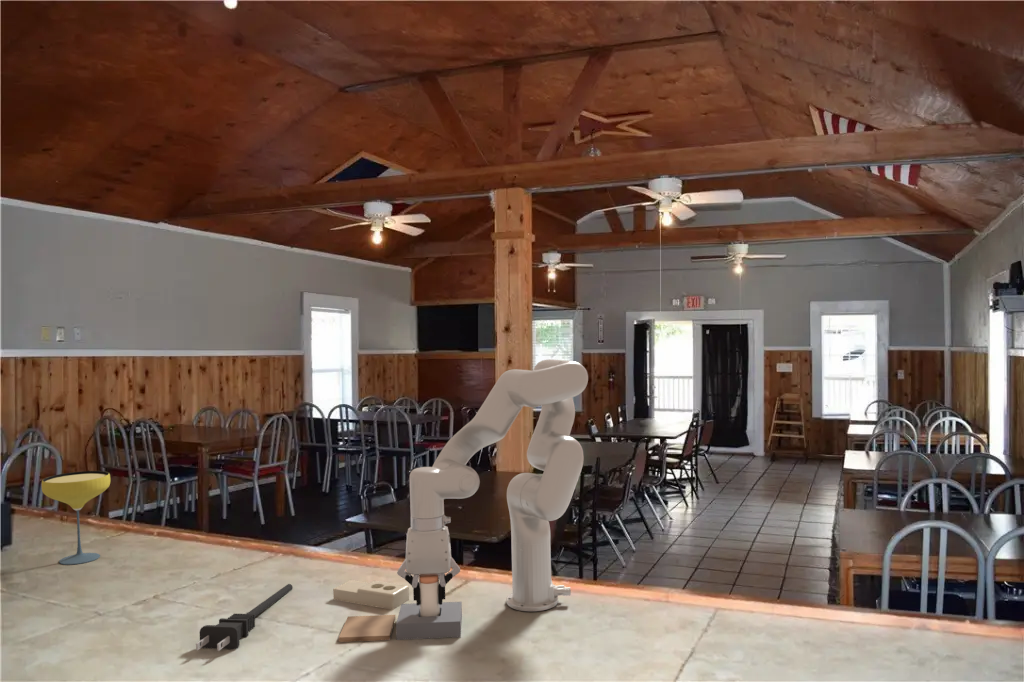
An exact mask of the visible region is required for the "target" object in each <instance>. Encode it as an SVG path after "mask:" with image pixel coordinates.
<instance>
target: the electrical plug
mask: <svg viewBox="0 0 1024 682" xmlns="http://www.w3.org/2000/svg"><path fill="white" fill-rule="evenodd" d="M292 590H293V585H292V584H290V583H287V584H286V585H284V586H283V587H282V588H281V589H279V590H277V591H276V592H275V593H274V594H272V595H271V596H269V597H268V598H266V599H264V600H263V601H262V602H261V603H259V604H258V605H257V606H255V607H254V608H252V609H251V610H249V611H248V612H246V613H233V614H231V615H230V616H229V617H227V618H219V619H218V621H219V622H218V623H217V624H215V625H214V624H212V625H210V624H208V625H207V624H205V625H203V626H202V627H201V628H200V630H199V641H198V642H196V643H195V651H199V650H200V649H216V650H217V652H220V651H221V650H237V649H238V648H239V647H240V641H241V638H247V637H249V632H250V631H251V630H252V629H254V628H255V627H256V617H258V615H260V614H261V613H262V612H265V610H267V609H268V608H269V607H271V606H272V605H273V604H275V603H277V601H279V600H280V599H282V598H283V597H284V596H285V595H287V594H288V593H289V592H292Z"/></svg>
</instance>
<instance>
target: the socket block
mask: <svg viewBox="0 0 1024 682" xmlns="http://www.w3.org/2000/svg"><path fill="white" fill-rule="evenodd" d="M462 603H463V602H462V601H446V602H445V601H442V605H440V604H439V605H440V616H431V617H420V605H417V604H416V602H415V603H404V604H401V605H400V608H399V612H398V616H397V619H396V623H395V627H396V630H395V631H396V633H395V635H396V640H397V641H399V640H401V641H402V640H420V639H421V640H424V639H425V640H426V639H444V638H443V637H452V638H461V637H462V624H463V621H462V619H463V609H462V607H463V604H462ZM439 637H440V638H439Z"/></svg>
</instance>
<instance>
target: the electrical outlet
mask: <svg viewBox="0 0 1024 682" xmlns="http://www.w3.org/2000/svg"><path fill="white" fill-rule="evenodd" d="M332 592H333V593H332V594H333V596H332V597H333V601H334V600H335V601H341V602H346V603H352V604H358V605H364V606H369V607H374V608H375V607H376V608H380V609H381V608H382V609H387V610H392V611H393V610H396V609H397V608H399V607H401V604H406V603H407V602H409V601H410V587H409V585H407V584H400V583H393V582H387V581H381V580H372V581H370V582H367V581H360V580H354V579H350V580H348V581H346V582H344V583H342V584H340V585H338V586H336V587H334V588H333V591H332Z"/></svg>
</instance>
